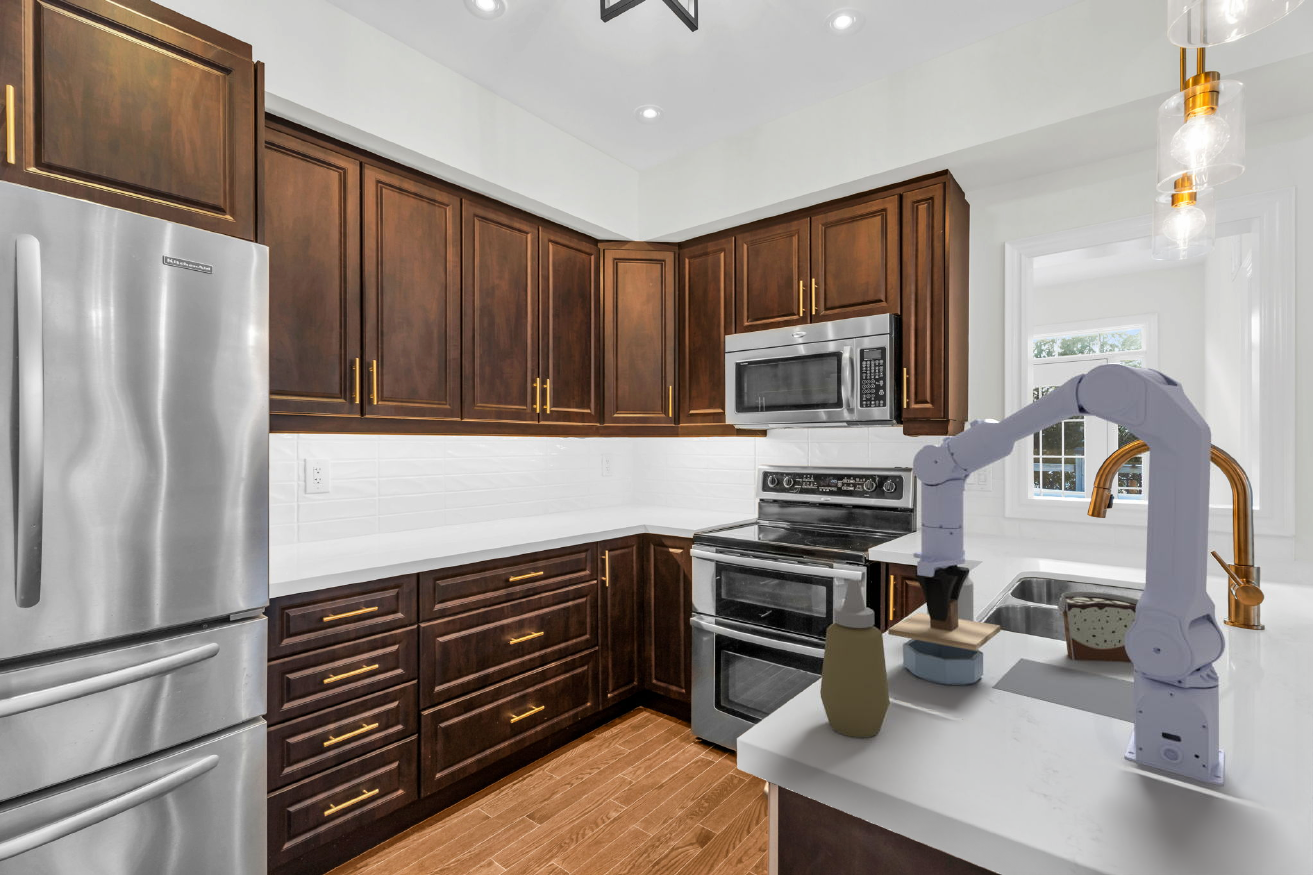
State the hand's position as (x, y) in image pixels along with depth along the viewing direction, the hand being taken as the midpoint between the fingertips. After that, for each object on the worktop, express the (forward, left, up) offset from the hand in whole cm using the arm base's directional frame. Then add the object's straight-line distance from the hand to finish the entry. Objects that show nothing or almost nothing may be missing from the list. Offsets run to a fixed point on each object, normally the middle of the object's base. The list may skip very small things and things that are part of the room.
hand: (942, 617), depth 92 cm
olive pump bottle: (-25, +2, -9) cm, 27 cm away
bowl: (0, 0, -9) cm, 9 cm away
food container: (+25, -15, -9) cm, 30 cm away
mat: (+7, -15, -9) cm, 19 cm away
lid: (0, 0, -2) cm, 2 cm away
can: (+19, +5, -9) cm, 22 cm away
